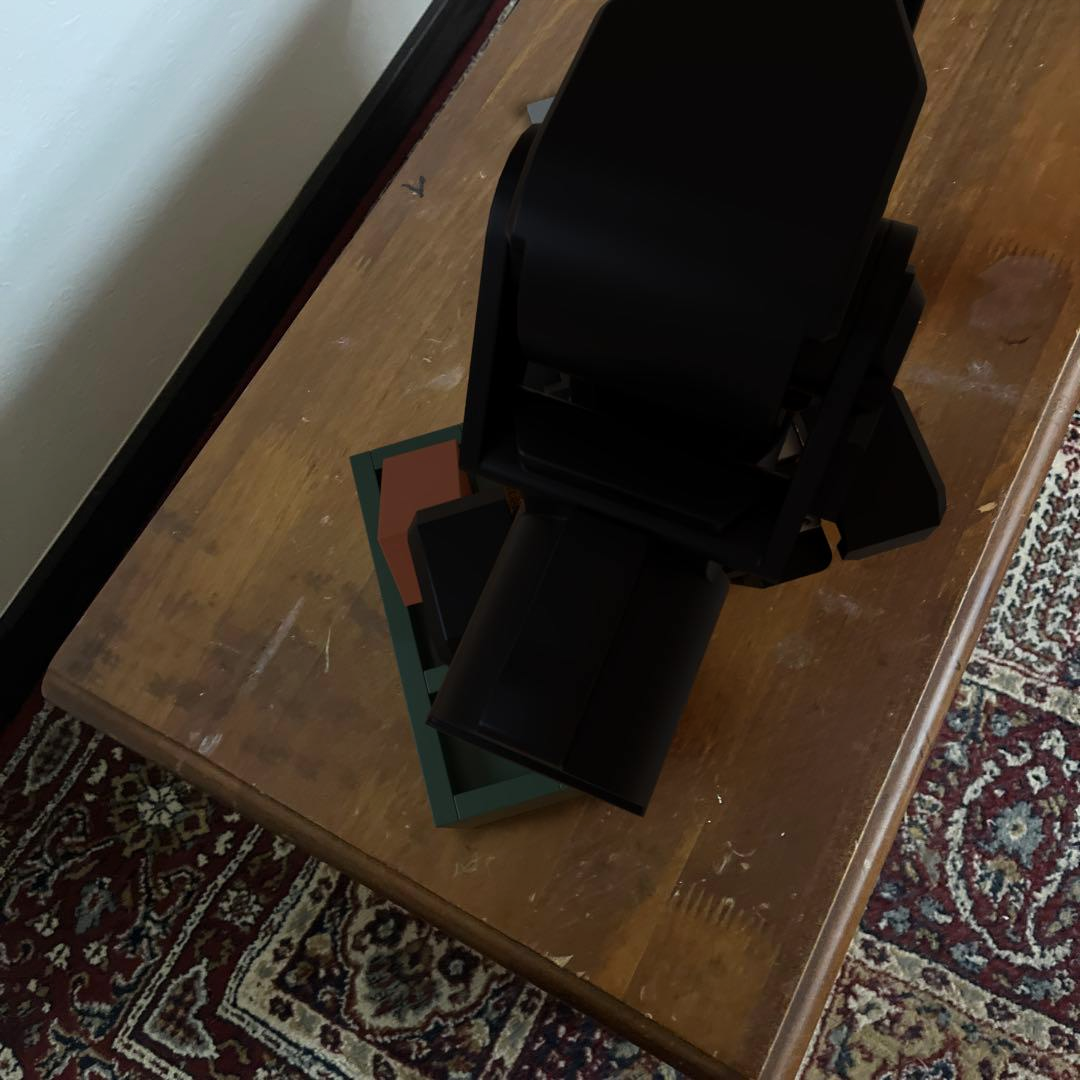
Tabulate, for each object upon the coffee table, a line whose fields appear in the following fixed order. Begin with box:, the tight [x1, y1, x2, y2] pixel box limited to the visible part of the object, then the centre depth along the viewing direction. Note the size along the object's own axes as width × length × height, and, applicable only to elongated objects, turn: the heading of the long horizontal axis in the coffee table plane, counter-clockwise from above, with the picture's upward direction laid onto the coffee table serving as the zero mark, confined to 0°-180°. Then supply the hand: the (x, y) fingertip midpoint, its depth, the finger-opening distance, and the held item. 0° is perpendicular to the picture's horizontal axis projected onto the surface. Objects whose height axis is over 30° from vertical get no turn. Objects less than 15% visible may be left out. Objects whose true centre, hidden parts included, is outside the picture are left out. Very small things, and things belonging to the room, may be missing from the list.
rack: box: [348, 422, 587, 830], centre depth 52 cm, size 7×20×8 cm, turn 16°
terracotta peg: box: [378, 439, 475, 606], centre depth 47 cm, size 4×4×8 cm
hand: (664, 581), depth 43 cm, fingers closed on maple peg, 4 cm apart
